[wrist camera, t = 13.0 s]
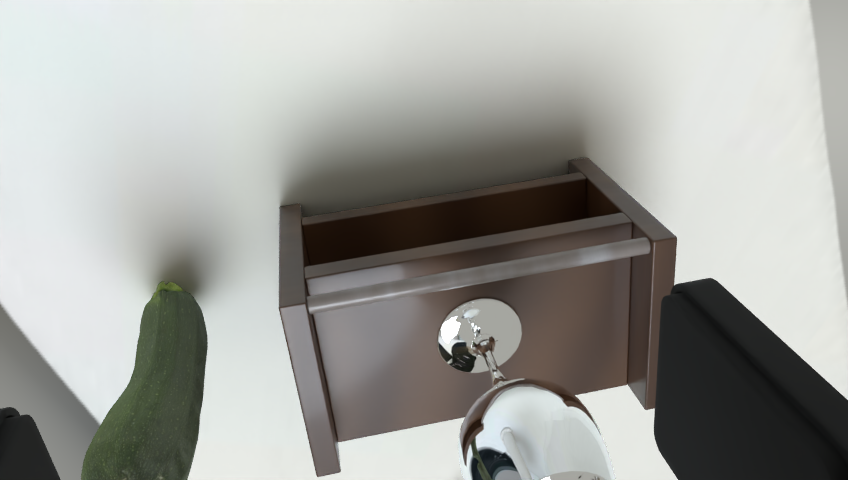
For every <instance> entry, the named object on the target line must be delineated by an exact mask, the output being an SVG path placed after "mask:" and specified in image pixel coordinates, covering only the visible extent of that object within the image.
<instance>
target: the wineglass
mask: <svg viewBox="0 0 848 480" xmlns="http://www.w3.org/2000/svg"><path fill="white" fill-rule="evenodd" d="M521 339H522V323H521V320H520V317H519V315H518V314H517V312H516V311H515V310H514V309H513V308H512V307H511V306H510V305H508V304H507V303H505V302H503V301H500V300H497V299H492V298H480V299H474V300H470V301H468V302H465V303H463V304H461V305H459V306H457V307H456V308H455V309H453V310H452V311H451V312H450V313H449V314H448V315H447V316H446V317H445V318H444V320H443V321H442V323H441V325H440V327H439V330H438V333H437V340H436V342H437V349H438V352H439V354H440V356H441V358H442V359H443V360H444V361H445V363H446V364H448V365H449V366H450V367H452V368H453V369H456V370H458V371H461V372H465V373H482V372H487V371H490V373H491V379H492V388H491V389H489V390H488V391H487V392H485V393H484V394H483V395H482V396H481V397H480V398H478V399H477V401H476V402H475V403H474V404H473V405H472V406H471V408H470V409H469V411H468V413H467V415H466V417H465V419H464V421H463V423H462V426H461V429H460V433H459V440H458V454H459V463H460V469H461V473H462V477H463V480H616V476H615V472H614V469H613V465H612V461H611V458H610V455H609V452H608V449H607V446H606V443H605V441H604V438H603V436H602V434H601V431H600V429H599V427H598V425H597V423H596V422H595V420H594V418H593V417H592V415H591V413H590V412H589V411H588V410H587V408H586V407H585V406H584V405H583V404H582V402H581V401H580V400H579V399H578V398H577V397H576V396H575V395H573V394H572V393H571V392H570V391H568V390H567V389H565V388H564V387H562V386H560V385H558V384H556V383H554V382H551V381H547V380H543V379H538V378H519V379H514V380H508V379H507V378H505V376H504V375H503V374H502V373H501V371H500V369H499V366H501V365H502V364H504V363H505V362H506V361H508V360H509V359H510V358H511V357H512V356H513V354H514V353H515V352H516V350H517V349H518V347H519V344H520V342H521Z"/></svg>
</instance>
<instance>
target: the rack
mask: <svg viewBox="0 0 848 480" xmlns="http://www.w3.org/2000/svg"><path fill="white" fill-rule="evenodd" d="M676 247H677V237H676V236H675V235H674V234H673V233H672V232H670V231H669V230H668V229H667V228H666V227H665V226H664V225H663V224H661V223H660V222H659V221H658V220H657V219H656V218H655V217H654V216H652V215H651V214H650V213H649V212H648V211H647V210H646V209H645V208H644V207H642V206H641V205H640V204H639V203H638V202H637V201H636V200H635V199H633V198H632V197H631V196H630V195H629V194H628V193H627V192H626V191H625V190H623V189H622V188H621V187H620V186H619V185H618V184H617V183H616V182H614V181H613V180H612V179H611V178H610V177H609V176H608V175H607V174H605V173H604V172H603V171H602V170H601V169H600V168H599V167H598V166H597V165H595V164H594V163H593V162H592V161H591V160H590V159H589V158H587V157H586V158H580V159H574V160H569V174H566V175H560V176H554V177H548V178H542V179H536V180H529V181H523V182H517V183H511V184H505V185H499V186H493V187H487V188H481V189H474V190H468V191H462V192H456V193H450V194H444V195H438V196H432V197H426V198H419V199H413V200H407V201H401V202H395V203H389V204H383V205H377V206H371V207H364V208H358V209H352V210H346V211H340V212H334V213H328V214H322V215H316V216H310V217H303V214H302V209H301V205H300V204H294V205H288V206H282V207H280V221H279V311H280V315H281V320H282V324H283V329H284V333H285V338H286V342H287V346H288V351H289V355H290V360H291V364H292V369H293V373H294V377H295V382H296V386H297V391H298V395H299V400H300V404H301V408H302V413H303V417H304V422H305V426H306V431H307V435H308V439H309V444H310V448H311V453H312V457H313V462H314V466H315V470H316V475H317V477H320V476H325V475H330V474H335V473H339V472H340V471H341V469H340V459H339V449H338V442H342V441H347V440H352V439H357V438H362V437H367V436H372V435H377V434H382V433H387V432H392V431H397V430H402V429H407V428H412V427H417V426H422V425H427V424H432V423H437V422H442V421H447V420H452V419H457V418H463V417H466V415H467V413H468V411H469V409H470V408H471V406H472V405H473V404H474V403H475V402H476V401H477V399H478V398H480V397H481V396H482V395H483V394H484V393H485V392H487V391H488V390H489V389H491V388H492V379H491V373H490V371H487V372H482V373H465V372H461V371H458V370H456V369H453V368H452V367H450V366H449V365H448V364H446V363H445V361H444V360H443V359H442V358H441V356H440V354H439V352H438V349H437V342H436V340H437V333H438V330H439V327H440V325H441V323H442V321H443V320H444V318H445V317H446V316H447V315H448V314H449V313H450V312H451V311H452V310H453V309H455V308H456V307H457V306H459V305H461V304H463V303H465V302H468V301H470V300H474V299H480V298H492V299H497V300H500V301H503V302H505V303H507V304H508V305H510V306H511V307H512V308H513V309H514V310H515V311H516V312H517V314H518V315H519V317H520V320H521V323H522V339H521V342H520V344H519V347H518V349H517V350H516V352H515V353H514V354H513V356H512V357H511V358H510V359H509V360H508V361H506V362H505V363H504V364H502V365H501V366H499V369H500V371H501V373H502V374H503V375H504V376H505V378H507V379H508V380H514V379H519V378H538V379H543V380H547V381H551V382H554V383H556V384H558V385H560V386H562V387H564V388H565V389H567V390H568V391H570V392H571V393H572V394H573V395H578V394H583V393H588V392H593V391H598V390H603V389H608V388H613V387H618V386H623V385H627V384H628V386H629V387H630V388H631V390H632V391H633V393H634V394H635V396H636V397H637V399H638V400H639V401H640V403H641V404H642V406H643V407H644V409H645V410H648V409H653V408H655V400H656V382H657V364H658V347H659V329H660V312H661V301H662V299H663V297H664V296H667V295H670V293H671V290H672V288H673V286H674V277H675V262H676Z"/></svg>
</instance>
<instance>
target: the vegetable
mask: <svg viewBox="0 0 848 480" xmlns="http://www.w3.org/2000/svg"><path fill="white" fill-rule="evenodd" d="M207 343H208V342H207V332H206V327H205V322H204V317H203V314H202V310H201V309H200V307H199V305H198V304H197V302H196V300H195V299H194V297H193V296H192V295H191V294H190V293H188V292H186V291H183V289H182V288H181V287H179V286H177V284H175V283H173V282H169V283H168V284H165V283H164V281H162V282H161V283H159V284H158V286H157V291H156V293H154V294H153V296H152V298H151V300H150V301H149V302H148V303H147V304H146V306H145V308H144V311H143V315H142V319H141V325H140V335H139V339H138V344H137V352H136V360H135V368H134V371H133V374H132V377H131V380H130V382H129V384H128V386H127V388H126V389H125V390H124V392H123V393H122V395H121V396H120V397H119V399H118V400H117V401H116V403H115V404H114V405H113V407H112V408H111V409H110V411H109V412H108V414H107V415H106V417H105V419H104V420H103V422H102V424H101V425H100V427H99V429H98V431H97V433H96V434H95V436H94V438H93V440H92V442H91V444H90V446H89V448H88V450H87V452H86V455H85V459H84V462H83V469H82V474H81V480H187V478H188V475H189V472H190V469H191V465H192V462H193V457H194V453H195V448H196V444H197V440H198V433H199V421H200V412H201V407H202V401H203V389H204V376H205V365H206V355H207Z"/></svg>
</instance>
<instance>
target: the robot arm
mask: <svg viewBox="0 0 848 480" xmlns="http://www.w3.org/2000/svg"><path fill="white" fill-rule="evenodd" d="M654 435H655V440H656V444H657V446H658V449H659V451H660V453H661V454H662V456H663V457H664V459H665V460H666V462H667V464H668V465H669V467H670V468H671V470H672V471H673V473H674V474H675V476H676V477H677V479H678V480H848V400H847V399H846V398H845V397H844V396H842V395H841V394H840V393H839V392H838V391H837V390H836V389H835V388H834V387H833V386H832V385H830V384H829V383H828V382H827V381H826V380H825V379H824V378H823V377H822V376H821V375H819V374H818V373H817V372H816V371H815V370H814V369H813V368H812V367H811V366H810V365H808V364H807V363H806V362H805V361H804V360H803V359H802V358H801V357H800V356H799V355H797V354H796V353H795V352H794V351H793V350H792V349H791V348H790V347H789V346H788V345H787V344H785V343H784V342H783V341H782V340H781V339H780V338H779V337H778V336H777V335H776V334H774V333H773V332H772V331H771V330H770V329H769V328H768V327H767V326H766V325H765V324H763V323H762V322H761V321H760V320H759V319H758V318H757V317H756V316H755V315H754V314H753V313H751V312H750V311H749V310H748V309H747V308H746V307H745V306H744V305H743V304H742V303H740V302H739V301H738V300H737V299H736V298H735V297H734V296H733V295H732V294H731V293H729V292H728V291H727V290H726V289H725V288H724V287H723V286H722V285H721V284H720V283H719V282H717V281H716V280H714V279H712V278H707V279H702V280H696V281H691V282H686V283H680V284H676V285H674V286H673V288H672V290H671V293H670V295H667V296H664V297H663V299H662V301H661V312H660V329H659V347H658V364H657V382H656V400H655V417H654ZM0 480H60V477H59V475H58V473H57V471H56V469H55V466H54V464H53V462H52V460H51V457H50V455H49V453H48V451H47V448H46V446H45V444H44V441H43V439H42V437H41V435H40V432H39V430H38V428H37V426H36V424H35V422H34V420H33V418H32V417H31V416H30V415H21V416H20V414H19V412H18V411H17V410H16V409H14V408H11V407H7V408H3V409H0Z"/></svg>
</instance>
